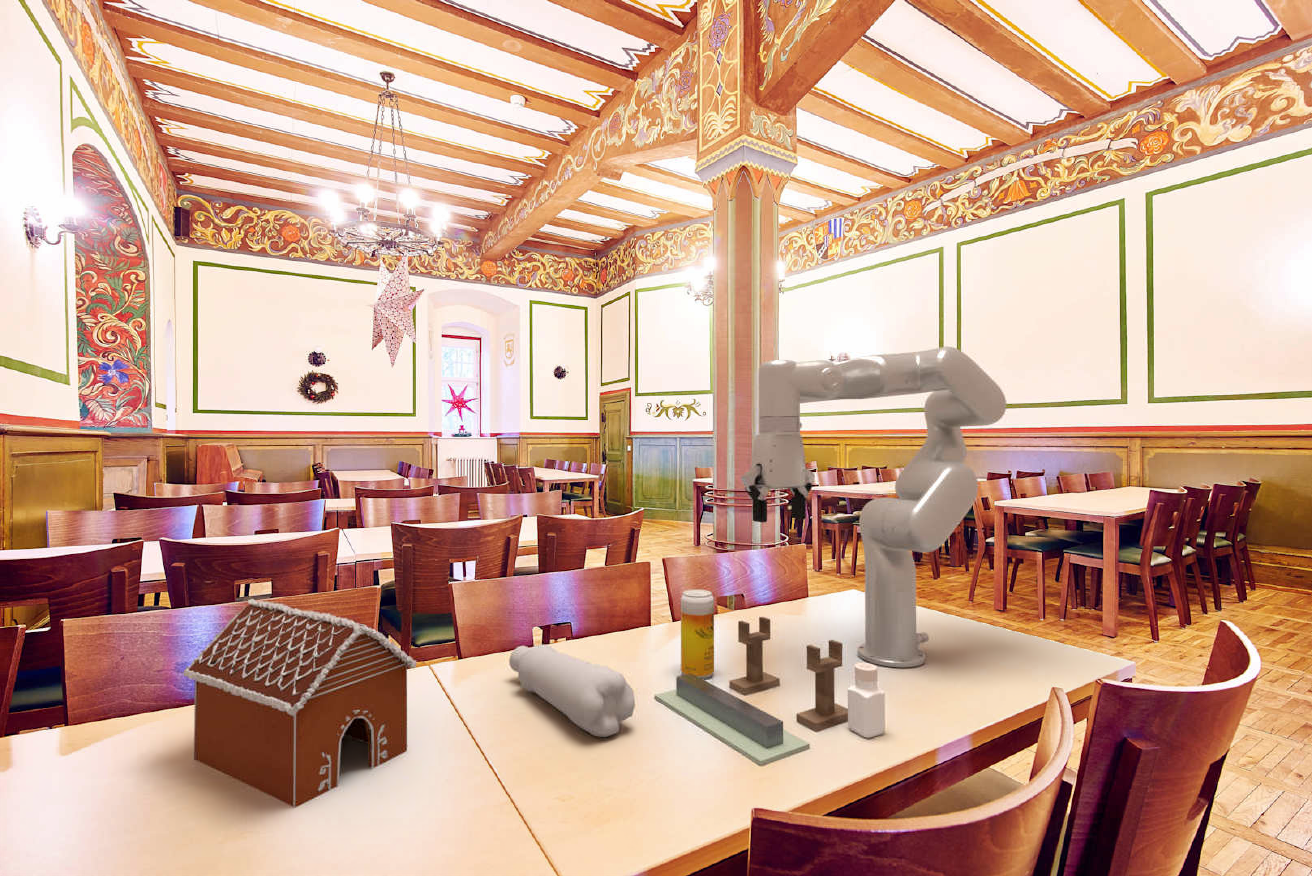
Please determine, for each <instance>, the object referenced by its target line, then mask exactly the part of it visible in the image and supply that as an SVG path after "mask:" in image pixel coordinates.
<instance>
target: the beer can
mask: <svg viewBox="0 0 1312 876" xmlns="http://www.w3.org/2000/svg"><path fill="white" fill-rule="evenodd" d="M680 672H681V673H682V674H683V675H686V674H690V673H691V674H693V675H695V676H697V677H699V678H701V679H703V680H707V679H710V678H711V677H712V674H714V672H715V599H714V595H712V592H711V591H710V590H706V589H688V590H685V591H683V592H682V596H681V597H680Z"/></svg>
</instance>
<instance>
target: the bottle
mask: <svg viewBox="0 0 1312 876" xmlns="http://www.w3.org/2000/svg"><path fill="white" fill-rule="evenodd" d="M508 664H509V666H510V668H511V669H512V671H514V672H516V673H517V675H518V677H517V678H518V680H519V683H520V685H521V687H522V688H524V689H525V690H526V691H527V692H530V693H536V694H537V695H538V696H539V697H540V698H542V699H543V700H545V701H546V702H547V703H549V704H550V705H552V706H553V707H555V709H557V710H558V711H560V712H561V713H562V714H564V715H565V716H567V717H568V718H569V720H570V721H571V722H573V723H574V724H575V725H576V726H577V727H578V728H581V729H583V730H584V731H586V732H587V733H589V734H591V735H592V736H593V737H598V738H607V737H609V736H613V735H615V734H617V733H619V732H620V727H621V722H623V721H625V720H627V719H629V718H631V717H632V716H633V713H634V710H635V708H636V703H635V693H634V692H635V691H634V689H633V688H632V687H631V686H630V685H629V683H628V681H626V678H625V677H624V674H623V673H621V672H618V671H616V670H614V669H612V668H610V667H608V666H604V665H601V664H597V663H596V664H595V663H591V662H587V661H585V660H582V659H579V658H576V657H574V656H571V655H568V654H565V653H561V652H558V651H557V650H556V649H554V648H553V646H552V645H547V644H539V645H535V646H533V647H531V648H530V647H528V646H525V645H519V646H517V647H516V648H515V649H513V651H512V652H511V653H510V655H509V663H508Z"/></svg>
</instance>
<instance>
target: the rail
mask: <svg viewBox="0 0 1312 876" xmlns="http://www.w3.org/2000/svg"><path fill="white" fill-rule="evenodd" d="M675 678H676V679H675V681H676V682H675V683H676V684H675V685H676V687H675V688H676V689H675V690H676V695H677V696H679V697H681V698H682V699H684V700H686V701H687V702H689V703H691V704H692V705H694V706H696V707H697V708H699V709H701V710H702V711H704V712H706V713H707V714H709V715H711V716H712V717H714V718H716V719H717V720H719V721H721V722H722V723H724V724H726V725H728V726H729V727H731V728H733V729H734V730H736V731H738V732H739V733H741V734H743V735H744V736H746V737H748V738H749V739H751V740H753V741H754V742H756V743H758V744H759V745H761V746H763V747H764V748H766V749H769V748H772V747H775V746H778V745H781V744H783V730H784V721H783V720H781V719H779V718H777V717H775V716H773V715H772V714H769V713H767V712H766V711H764V710H762V709H760V708H758V707H757V706H755V705H752V704H750V703H749V702H747V701H745V700H743V699H741V698H739V697H737V696H736V695H733V694H731V693H729V692H727V691H726V690H723V688H720V687H718V686H716V685H714V684H713V683H710V682H708V681H707V680H706V679H701V678H699V677H697V676H695V675H693V674H691V673H690V674H686V675H684V674H683V675H679V676H676V677H675Z"/></svg>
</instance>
